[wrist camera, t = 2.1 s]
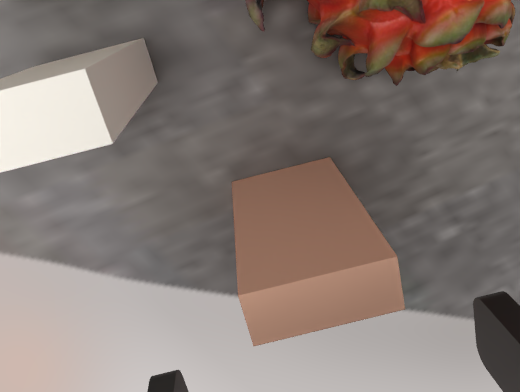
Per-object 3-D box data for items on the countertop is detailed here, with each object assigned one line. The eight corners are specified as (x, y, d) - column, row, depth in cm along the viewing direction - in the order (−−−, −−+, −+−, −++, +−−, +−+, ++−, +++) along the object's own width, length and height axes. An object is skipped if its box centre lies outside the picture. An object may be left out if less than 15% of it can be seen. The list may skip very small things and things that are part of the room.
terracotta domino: (231, 181, 24) (238, 295, 15) (329, 157, 24) (396, 256, 15) (241, 217, 25) (253, 346, 16) (336, 193, 25) (404, 309, 16)
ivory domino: (34, 66, 22) (-107, 118, 12) (143, 38, 21) (84, 68, 12) (52, 110, 22) (-68, 190, 13) (158, 82, 22) (112, 143, 13)
